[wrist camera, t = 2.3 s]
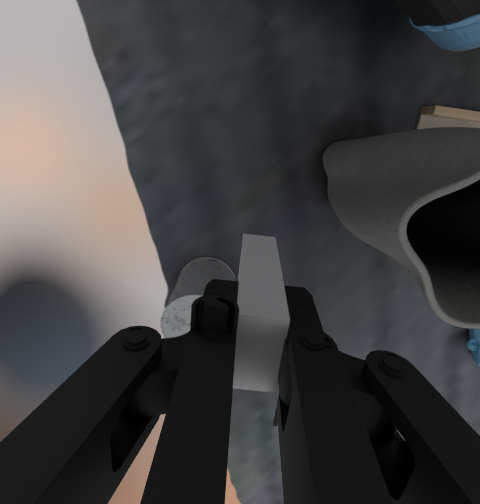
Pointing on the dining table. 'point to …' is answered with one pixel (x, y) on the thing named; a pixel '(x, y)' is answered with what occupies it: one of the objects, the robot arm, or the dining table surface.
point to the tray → (447, 117)
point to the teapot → (474, 344)
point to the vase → (417, 209)
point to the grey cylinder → (191, 293)
